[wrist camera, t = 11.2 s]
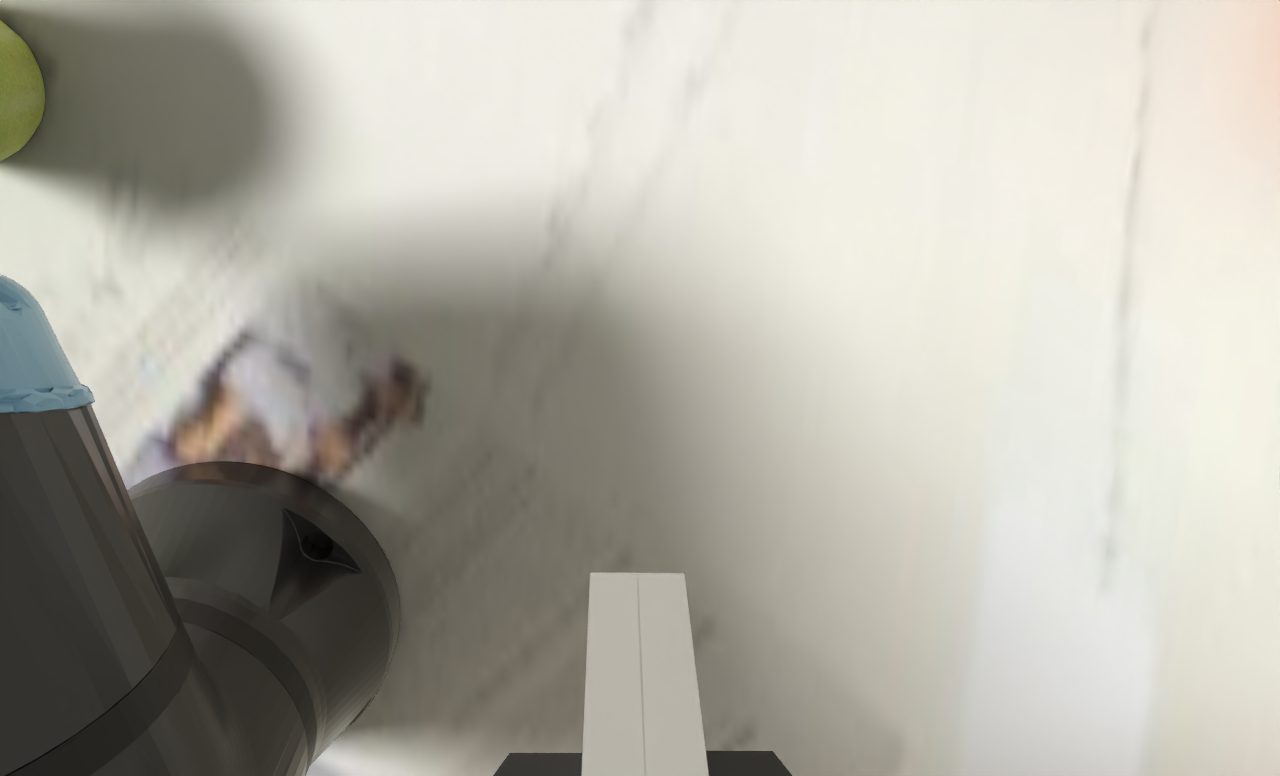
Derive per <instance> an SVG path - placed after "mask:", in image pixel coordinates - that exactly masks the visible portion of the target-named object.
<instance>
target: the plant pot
mask: <svg viewBox="0 0 1280 776" xmlns="http://www.w3.org/2000/svg"><path fill="white" fill-rule="evenodd" d="M44 107H45V88H44V82H43V78H42V74H41V71H40V68H39V66H38V64H37V62H36V59H35V57H34V55H33V54H32V52H31V50H30V49H29V47H28V45H27V44H26V43H25V42H24V40H23V39H22V38H21V37H19V36H18V35H17V34H16V33H15V32H14V31H13V30H11V29H10V28H9V27H8V26H7V25H6V24H4V23H3V22H2V21H1V20H0V162H1V161H2V160H4V159H6V158H7V157H9V156H11V155H12V154H14V153H16V152H17V151H19V150H20V149H21V148H22V147H24V145H25V144H26V143H27V142H28V141H29V140H30V138H31V137H32V135H33V134H34V132H35V131H36V129H37V127H38V126H39V124H40V122H41V120H42V116H43V113H44Z"/></svg>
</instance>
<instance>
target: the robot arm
mask: <svg viewBox="0 0 1280 776" xmlns="http://www.w3.org/2000/svg"><path fill="white" fill-rule="evenodd" d="M94 402H95V400H94V397H93V394H92V392H91V391H90V389H89V388H88V387H87V386H85V385H82V384H80V382H79V380H78V378H77V376H76V374H75V372H74V371H73V369H72V367H71V365H70V363H69V361H68V359H67V357H66V356H65V354H64V352H63V350H62V348H61V346H60V344H59V342H58V340H57V338H56V336H55V334H54V332H53V330H52V328H51V325H50V323H49V321H48V319H47V317H46V315H45V313H44V311H43V310H42V308H41V306H40V305H39V303H38V302H37V300H36V299H35V298H34V297H33V296H32V295H31V293H30V292H29V291H27V290H26V289H25V288H24V287H23V286H21V285H20V284H19V283H17V282H15V281H14V280H12V279H10V278H8V277H6V276H4V275H1V274H0V776H306V773H307V771H308V768H309V766H310V765H311V764H312V763H313V762H314V761H315V760H316V759H317V758H318V757H319V756H320V755H321V754H322V753H323V752H324V751H325V750H326V748H327V747H328V746H329V745H330V744H331V743H332V742H333V741H334V740H335V739H336V738H337V737H338V736H339V735H340V734H341V733H342V732H343V731H344V730H346V729H347V728H348V727H349V726H350V725H351V724H352V723H354V722H355V721H356V720H357V719H358V718H359V717H360V716H361V715H362V713H363V712H364V711H365V710H366V708H367V707H368V706H369V704H370V703H371V701H372V700H373V698H374V697H375V695H376V694H377V692H378V690H379V688H380V686H381V684H382V682H383V680H384V678H385V675H386V672H387V669H388V667H389V664H390V661H391V658H392V655H393V652H394V649H395V646H396V642H397V638H398V633H399V627H400V601H399V594H398V589H397V584H396V581H395V577H394V574H393V572H392V569H391V566H390V564H389V562H388V560H387V558H386V556H385V554H384V552H383V550H382V549H381V547H380V545H379V544H378V542H377V541H376V539H375V538H374V536H373V535H372V534H371V532H370V531H369V530H368V529H367V527H366V526H365V525H364V524H363V523H362V522H361V521H360V520H359V519H358V518H357V517H356V516H355V515H354V514H353V513H352V512H351V511H350V510H349V509H348V508H346V507H345V506H344V505H343V504H342V503H340V502H339V501H338V500H336V499H335V498H334V497H332V496H331V495H329V494H328V493H326V492H325V491H323V490H321V489H320V488H318V487H316V486H314V485H312V484H311V483H309V482H306V481H304V480H302V479H300V478H298V477H295V476H293V475H290V474H287V473H285V472H282V471H278V470H275V469H272V468H268V467H263V466H259V465H253V464H247V463H238V462H206V463H196V464H190V465H185V466H181V467H177V468H173V469H170V470H167V471H164V472H161V473H159V474H156V475H154V476H151V477H149V478H147V479H145V480H143V481H142V482H140V483H138V484H137V485H135V486H133V487H132V488H130V489H129V490H128V491H127V490H126V488H125V485H124V483H123V480H122V478H121V476H120V473H119V471H118V468H117V466H116V464H115V461H114V459H113V456H112V454H111V452H110V449H109V447H108V444H107V442H106V440H105V437H104V435H103V432H102V430H101V428H100V425H99V423H98V420H97V418H96V416H95V413H94V411H93V408H92V406H91V404H92V403H94ZM493 776H792V775H791V774H790V772H789V771H788V770H787V769H786V767H785V766H784V765H783V764H782V762H781V761H780V760H779V759H778V757H777V756H776V755H775V754H774V752H773V751H706V748H705V740H704V732H703V724H702V715H701V707H700V699H699V690H698V682H697V674H696V665H695V657H694V649H693V640H692V632H691V624H690V616H689V607H688V599H687V591H686V582H685V574H684V573H599V572H590V587H589V611H588V635H587V658H586V682H585V706H584V729H583V753H509V755H508V756H507V758H506V759H505V760H504V762H503V763H502V764H501V766H500V767H499V769H498V770H497V771H496V773H495V774H494V775H493Z"/></svg>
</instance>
